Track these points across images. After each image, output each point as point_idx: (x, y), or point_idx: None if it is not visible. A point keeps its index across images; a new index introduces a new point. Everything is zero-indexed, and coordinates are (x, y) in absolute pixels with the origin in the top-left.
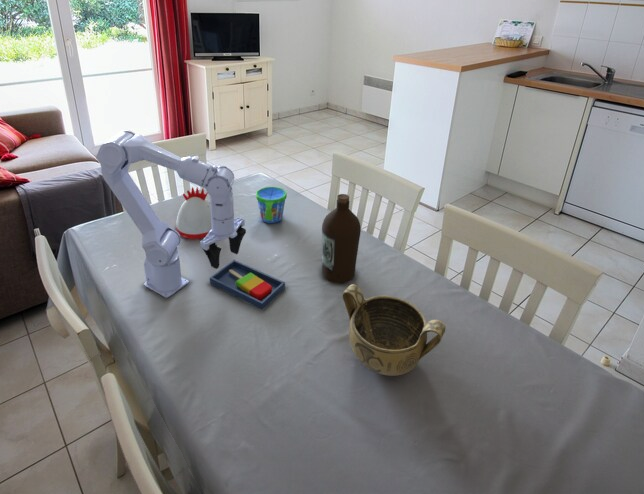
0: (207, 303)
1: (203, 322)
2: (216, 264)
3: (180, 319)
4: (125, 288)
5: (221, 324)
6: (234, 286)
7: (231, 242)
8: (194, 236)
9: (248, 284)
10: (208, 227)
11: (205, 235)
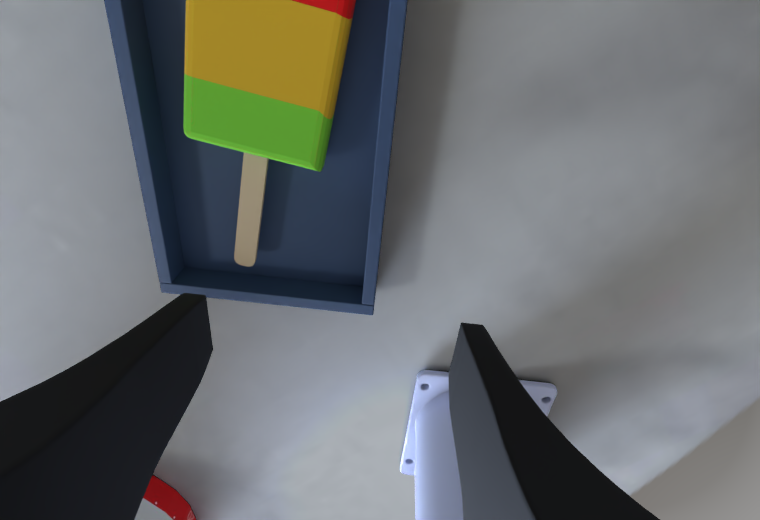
0: (516, 218)
1: (670, 148)
2: (504, 363)
3: (673, 263)
4: None
5: (664, 34)
6: (331, 164)
7: (158, 430)
8: (165, 497)
9: (298, 68)
10: None
11: None
